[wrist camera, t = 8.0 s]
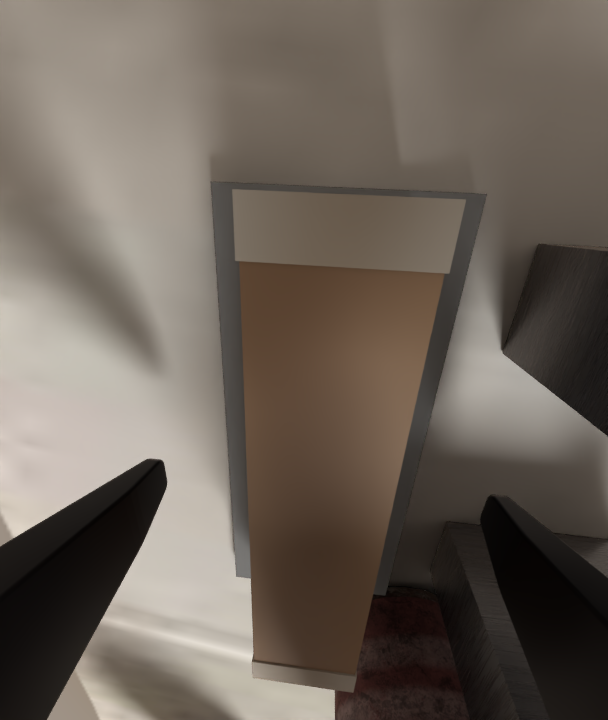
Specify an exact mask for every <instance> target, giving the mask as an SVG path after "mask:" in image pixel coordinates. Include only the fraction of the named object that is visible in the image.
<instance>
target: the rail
mask: <svg viewBox="0 0 608 720" xmlns="http://www.w3.org/2000/svg"><path fill="white" fill-rule="evenodd" d="M232 194H233V218H234V242H235V261H239V267H240V294H241V322H242V349H243V376H244V403H245V431H246V458H247V485H248V512H249V540H250V567H251V594H252V621H253V649H254V654H253V659H252V674H253V678H258V679H264V680H271V681H278V682H285V683H291V684H298V685H305V686H311V687H318V688H325V689H332V690H338V691H345V692H352V693H353V692H354V687H355V683H356V679H357V671H356V669H357V664H358V660H359V655H360V651H361V646H362V642H363V637H364V633H365V628H366V624H367V619H368V615H369V610H370V606H371V601H372V597H373V592H374V588H375V583H376V579H377V575H378V570H379V566H380V561H381V557H382V552H383V548H384V543H385V539H386V534H387V530H388V525H389V521H390V516H391V512H392V507H393V503H394V498H395V494H396V489H397V485H398V481H399V476H400V472H401V467H402V463H403V458H404V454H405V449H406V445H407V440H408V436H409V431H410V427H411V422H412V418H413V413H414V409H415V404H416V400H417V395H418V391H419V387H420V382H421V378H422V373H423V369H424V364H425V360H426V355H427V351H428V346H429V342H430V337H431V333H432V328H433V324H434V319H435V315H436V310H437V306H438V301H439V297H440V293H441V288H442V284H443V279H444V275H445V273H446V274H449V273H450V268H451V264H452V260H453V255H454V251H455V247H456V242H457V238H458V234H459V229H460V225H461V220H462V216H463V212H464V207H465V203H466V200H465V199H443V198H420V197H398V196H375V195H353V194H330V193H308V192H285V191H263V190H240V189H232Z"/></svg>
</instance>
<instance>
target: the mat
mask: <svg viewBox="0 0 608 720" xmlns="http://www.w3.org/2000/svg"><path fill="white" fill-rule="evenodd" d="M232 189H240V190H263V191H285V192H308V193H330V194H353V195H375V196H398V197H420V198H443V199H465V200H466V203H465V207H464V212H463V216H462V220H461V225H460V229H459V234H458V238H457V242H456V247H455V251H454V255H453V260H452V264H451V268H450V273H449V274H446V273H445V275H444V279H443V284H442V288H441V293H440V297H439V301H438V306H437V310H436V315H435V319H434V324H433V328H432V333H431V337H430V342H429V346H428V351H427V355H426V360H425V364H424V369H423V373H422V378H421V382H420V387H419V391H418V395H417V400H416V404H415V409H414V413H413V418H412V422H411V427H410V431H409V436H408V440H407V445H406V449H405V454H404V458H403V463H402V467H401V472H400V476H399V481H398V485H397V489H396V494H395V498H394V503H393V507H392V512H391V516H390V521H389V525H388V530H387V534H386V539H385V543H384V548H383V552H382V557H381V561H380V566H379V570H378V575H377V579H376V583H375V588H374V592H373V594H375V595H383V596H385V595H386V591H387V587H388V583H389V579H390V575H391V571H392V567H393V563H394V559H395V555H396V551H397V547H398V544H399V540H400V536H401V532H402V528H403V524H404V520H405V516H406V512H407V508H408V504H409V500H410V496H411V492H412V488H413V484H414V480H415V476H416V472H417V468H418V464H419V461H420V457H421V453H422V449H423V445H424V441H425V437H426V433H427V429H428V425H429V421H430V417H431V413H432V409H433V405H434V401H435V397H436V393H437V389H438V385H439V381H440V377H441V374H442V370H443V366H444V362H445V358H446V354H447V350H448V346H449V342H450V338H451V334H452V330H453V326H454V322H455V318H456V314H457V310H458V306H459V302H460V298H461V294H462V290H463V287H464V283H465V279H466V275H467V271H468V267H469V263H470V259H471V255H472V251H473V247H474V243H475V239H476V235H477V231H478V227H479V223H480V219H481V215H482V211H483V207H484V203H485V200H486V196H487V194H476V193H454V192H432V191H409V190H387V189H365V188H342V187H320V186H298V185H275V184H253V183H231V182H211V192H212V207H213V223H214V238H215V254H216V270H217V285H218V301H219V316H220V332H221V347H222V363H223V378H224V394H225V409H226V425H227V440H228V456H229V471H230V487H231V502H232V518H233V533H234V549H235V564H236V577H243V578H251V567H250V540H249V512H248V485H247V458H246V431H245V403H244V376H243V349H242V322H241V294H240V267H239V261H235V242H234V218H233V194H232Z"/></svg>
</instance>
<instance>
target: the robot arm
mask: <svg viewBox="0 0 608 720" xmlns="http://www.w3.org/2000/svg"><path fill="white" fill-rule="evenodd" d="M166 487H167V477H166V472H165V466H164V462H163V461H162V460H159V459H146V460H144V461H143V462H141V463H139V464H138V465H136V466H134V467H133V468H131V469H129V470H128V471H126V472H124V473H123V474H121V475H119V476H118V477H116V478H114V479H112V480H111V481H109V482H107V483H106V484H104V485H102V486H101V487H99V488H97V489H96V490H94V491H92V492H91V493H89V494H87V495H86V496H84V497H82V498H81V499H79V500H77V501H76V502H74V503H72V504H70V505H69V506H67V507H65V508H64V509H62V510H60V511H59V512H57V513H55V514H54V515H52V516H50V517H49V518H47V519H45V520H44V521H42V522H40V523H39V524H37V525H35V526H34V527H32V528H30V529H28V530H27V531H25V532H23V533H22V534H20V535H18V536H17V537H15V538H13V539H12V540H10V541H8V542H7V543H5V544H3V545H2V546H0V720H47V718H48V717H49V715H50V713H51V711H52V709H53V707H54V706H55V704H56V702H57V700H58V698H59V696H60V694H61V693H62V691H63V689H64V687H65V685H66V684H67V681H68V680H69V678H70V676H71V674H72V673H73V671H74V669H75V667H76V665H77V663H78V662H79V660H80V658H81V656H82V654H83V652H84V651H85V649H86V647H87V645H88V643H89V641H90V640H91V638H92V636H93V634H94V632H95V630H96V629H97V627H98V625H99V623H100V621H101V619H102V618H103V616H104V614H105V612H106V610H107V608H108V607H109V605H110V603H111V601H112V599H113V597H114V596H115V594H116V592H117V590H118V588H119V586H120V585H121V583H122V581H123V579H124V577H125V575H126V574H127V572H128V570H129V568H130V566H131V564H132V562H133V561H134V559H135V557H136V555H137V553H138V551H139V550H140V548H141V546H142V544H143V542H144V539H145V537H146V535H147V533H148V530H149V528H150V526H151V523H152V521H153V519H154V516H155V514H156V512H157V509H158V507H159V505H160V502H161V500H162V498H163V495H164V493H165V490H166ZM480 523H481V528H482V531H483V535H484V538H485V542H486V545H487V549H488V552H489V556H490V559H491V563H492V567H493V570H494V574H495V577H496V580H497V584H498V587H499V590H500V592H501V595H502V598H503V600H504V603H505V606H506V608H507V611H508V613H509V616H510V619H511V621H512V624H513V626H514V629H515V631H516V634H517V637H518V639H519V642H520V644H521V647H522V650H523V652H524V655H525V657H526V660H527V662H528V665H529V668H530V670H531V673H532V675H533V678H534V680H535V683H536V686H537V688H538V691H539V693H540V696H541V699H542V701H543V704H544V706H545V709H546V711H547V714H548V717H549V719H550V720H608V577H607V576H606V575H604V574H603V573H602V572H601V571H599V570H598V569H597V568H596V567H594V566H593V565H592V564H591V563H590V562H588V561H587V560H586V559H585V558H583V557H582V556H581V555H580V554H578V553H577V552H576V551H575V550H573V549H572V548H571V547H570V546H568V545H567V544H566V543H565V542H563V541H562V540H561V539H560V538H558V537H557V536H556V535H555V534H553V533H552V532H551V531H550V530H548V529H547V528H546V527H545V526H544V525H542V524H541V523H540V522H539V521H537V520H536V519H535V518H534V517H532V516H531V515H530V514H529V513H527V512H526V511H525V510H524V509H522V508H521V507H520V506H519V505H517V504H516V503H515V502H514V501H512V500H511V499H510V498H508V497H506V496H501V495H490V496H489V497H488V498H487V501H486V503H485V506H484V508H483V511H482V514H481V517H480Z"/></svg>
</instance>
